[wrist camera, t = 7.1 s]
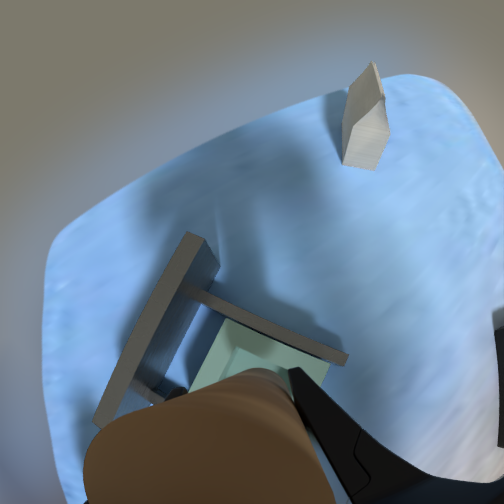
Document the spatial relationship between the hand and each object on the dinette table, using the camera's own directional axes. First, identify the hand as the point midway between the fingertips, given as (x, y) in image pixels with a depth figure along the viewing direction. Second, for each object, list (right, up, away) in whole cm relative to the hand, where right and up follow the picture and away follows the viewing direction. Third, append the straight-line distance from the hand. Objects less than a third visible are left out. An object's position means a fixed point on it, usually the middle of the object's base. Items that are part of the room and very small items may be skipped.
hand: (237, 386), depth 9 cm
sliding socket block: (+1, -6, +12) cm, 13 cm away
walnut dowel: (+1, -4, +6) cm, 7 cm away
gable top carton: (+12, +17, +20) cm, 29 cm away
